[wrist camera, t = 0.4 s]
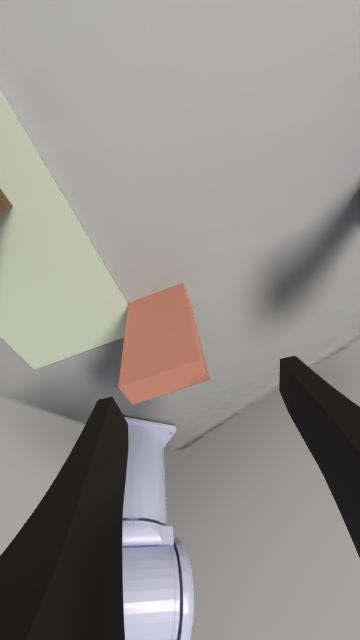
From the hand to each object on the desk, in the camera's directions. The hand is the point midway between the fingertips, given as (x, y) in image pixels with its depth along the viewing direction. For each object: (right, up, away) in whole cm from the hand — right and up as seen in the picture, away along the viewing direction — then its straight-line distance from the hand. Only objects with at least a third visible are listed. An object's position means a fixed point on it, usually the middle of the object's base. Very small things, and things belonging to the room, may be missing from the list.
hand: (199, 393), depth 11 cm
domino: (-2, +4, +9) cm, 10 cm away
